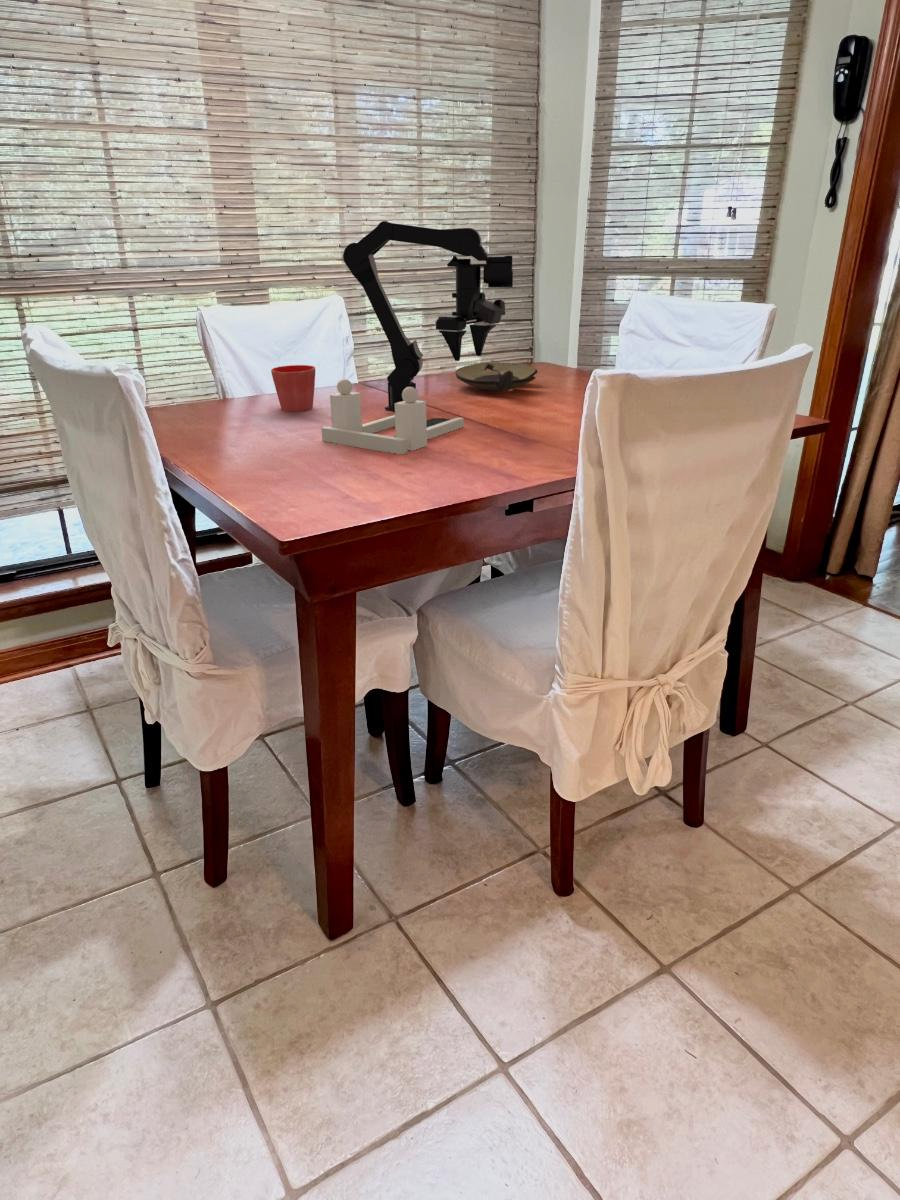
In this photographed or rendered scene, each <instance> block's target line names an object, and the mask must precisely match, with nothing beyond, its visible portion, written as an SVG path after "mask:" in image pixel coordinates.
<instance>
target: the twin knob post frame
mask: <svg viewBox="0 0 900 1200" xmlns="http://www.w3.org/2000/svg"><path fill="white" fill-rule="evenodd" d="M336 390H337V391H338V392H336V393H332V394H329V402H330V403H329V404H330V414H331V417H330V418H331V426H323V427H321V441H322V442H325V441H326V442H325V443H330V442H332V443H331V444H336V443H337V445H344V446H349V447H354V448H355V447H356V448H361V449H365V450H366V449H367V450H372V451H377V452H384V453H389V452H390V454H394V453H396V455H400V454H401V456H402V454H403V455H405V453H406V454H408V450H411V451H410V452H413V450H414V451H417V450H420V449H422V448H421V447H423V448H425V447H427V446H428V440H427V439H429V440H431V439H434V438H436V436H437V437H440V436H442V434H443V435H445V434H444V433H446V434H449V433H451V432H454V431H457V430H460V429H462V427H463V428H465V418H464V417H454V418H450V419H451V420H448V421H445V422H442V423H439V424H436V425H433V426H430V427H427V426H426V420H427V401H426V400H419V399H418V398H419V392H418V389H417V388H416V389H415V388H413V387H407V388H405V389H404V390H403V392H402V398H403V400H404V401H402V402H398V403H395V411H394V414H393V415H389V416H387V417H383V418H379V419H376V420H373V421H369V422H365V423H363V418H362V417H363V416H362V401H361V400H362V398H361V392H356V391H353V383H352V382H351V381H350V380H349V379H346V378H342V379H340V380H339V381H338V382H337V385H336ZM393 427H394V428H395V436H396V437H395V436H390V435H383V434H377V433H378V432H381V431H384V430H388V429H391V428H393ZM459 428H460V429H459ZM456 429H457V430H456ZM453 430H454V431H453ZM450 431H451V432H450ZM448 432H449V433H448ZM439 435H440V436H439ZM433 437H434V438H433ZM430 438H431V439H430ZM424 446H425V447H424ZM419 448H420V449H419ZM416 449H417V450H416Z"/></svg>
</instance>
